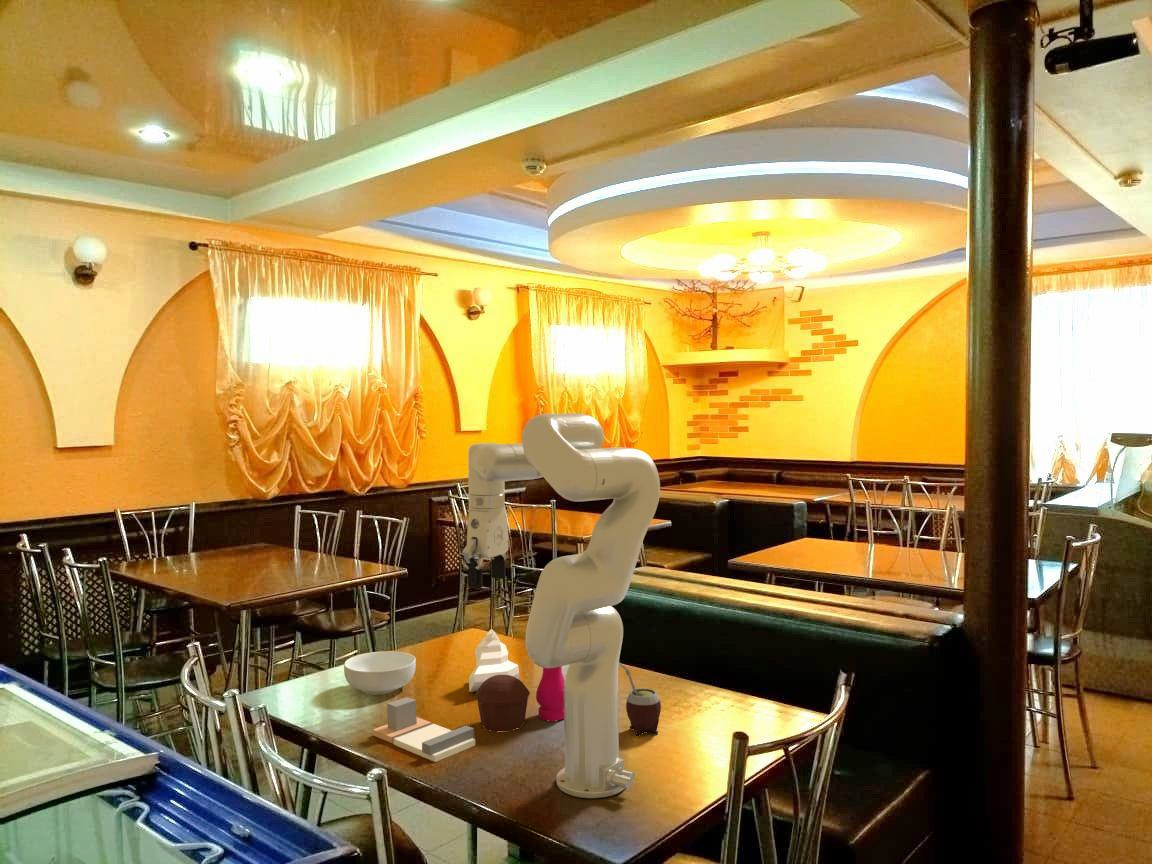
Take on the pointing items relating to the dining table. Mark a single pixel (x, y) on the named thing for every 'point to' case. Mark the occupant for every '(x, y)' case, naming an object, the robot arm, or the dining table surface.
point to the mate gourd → (642, 708)
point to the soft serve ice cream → (491, 661)
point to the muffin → (502, 703)
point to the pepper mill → (551, 694)
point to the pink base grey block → (400, 720)
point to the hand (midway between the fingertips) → (487, 582)
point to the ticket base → (427, 735)
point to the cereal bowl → (379, 671)
